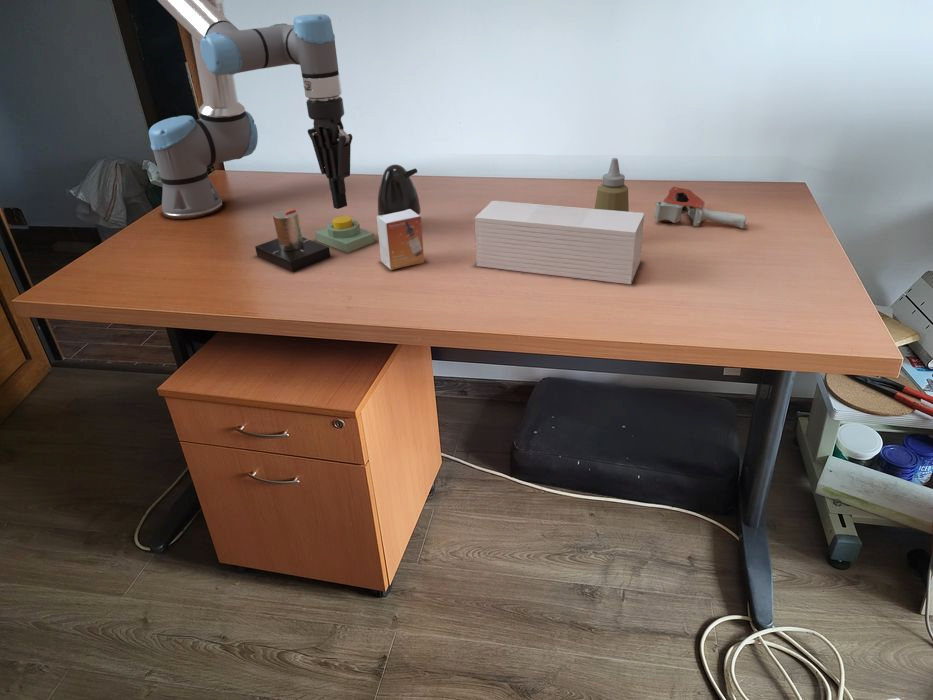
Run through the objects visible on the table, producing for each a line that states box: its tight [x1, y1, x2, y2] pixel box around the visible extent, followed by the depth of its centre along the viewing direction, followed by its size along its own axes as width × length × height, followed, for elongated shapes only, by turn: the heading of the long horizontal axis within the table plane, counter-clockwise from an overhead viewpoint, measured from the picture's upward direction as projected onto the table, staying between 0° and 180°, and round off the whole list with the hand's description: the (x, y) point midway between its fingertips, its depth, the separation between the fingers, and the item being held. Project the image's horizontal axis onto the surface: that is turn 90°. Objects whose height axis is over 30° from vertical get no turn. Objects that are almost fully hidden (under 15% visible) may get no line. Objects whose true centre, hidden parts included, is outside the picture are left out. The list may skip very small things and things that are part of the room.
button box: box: [314, 219, 376, 254], centre depth 155 cm, size 12×8×4 cm, turn 47°
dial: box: [272, 208, 303, 251], centre depth 146 cm, size 5×5×8 cm
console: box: [254, 236, 331, 273], centre depth 149 cm, size 14×10×3 cm
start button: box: [332, 215, 353, 229], centre depth 154 cm, size 4×4×2 cm
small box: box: [376, 209, 425, 271], centre depth 141 cm, size 8×6×10 cm
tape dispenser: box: [654, 186, 747, 229], centre depth 156 cm, size 18×5×20 cm
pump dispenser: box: [377, 164, 422, 216], centre depth 158 cm, size 10×10×15 cm
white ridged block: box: [474, 200, 645, 285], centre depth 137 cm, size 32×11×11 cm, turn 69°
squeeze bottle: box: [594, 157, 630, 212], centre depth 145 cm, size 8×8×18 cm
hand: (340, 206), depth 152 cm, fingers closed
